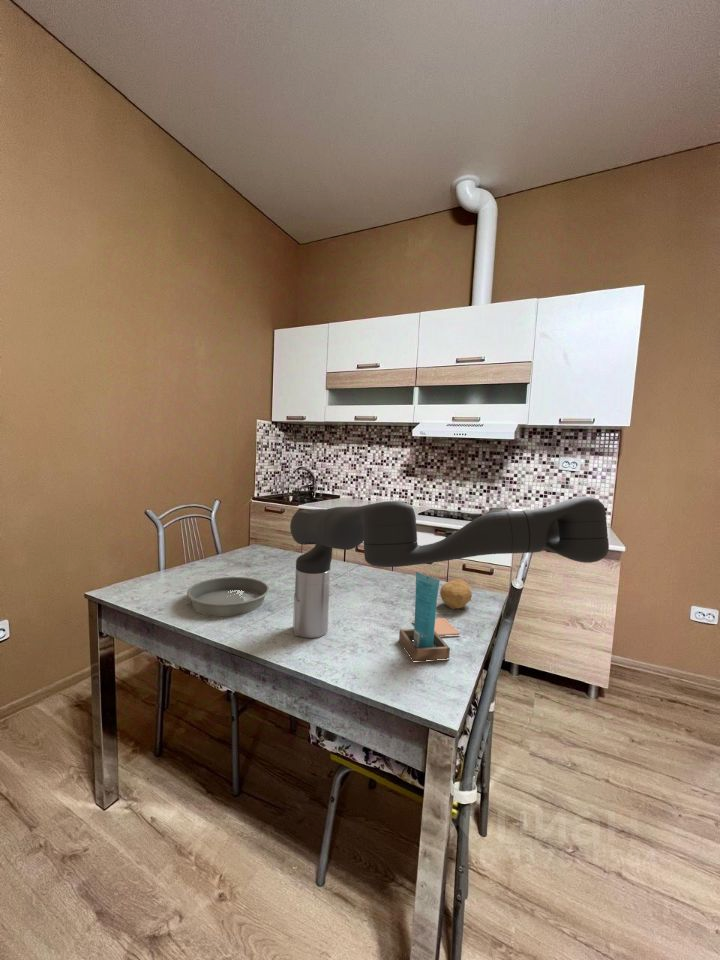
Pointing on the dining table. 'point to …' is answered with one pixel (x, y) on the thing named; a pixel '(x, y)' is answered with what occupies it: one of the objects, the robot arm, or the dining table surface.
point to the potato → (456, 593)
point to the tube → (425, 610)
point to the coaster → (444, 627)
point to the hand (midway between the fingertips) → (460, 526)
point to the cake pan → (215, 591)
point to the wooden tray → (423, 653)
